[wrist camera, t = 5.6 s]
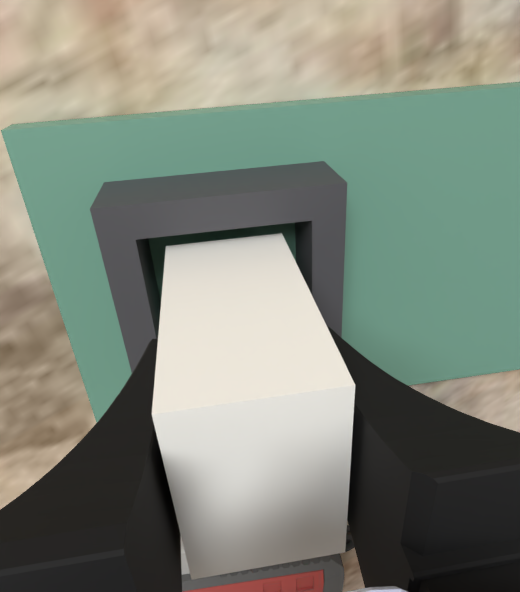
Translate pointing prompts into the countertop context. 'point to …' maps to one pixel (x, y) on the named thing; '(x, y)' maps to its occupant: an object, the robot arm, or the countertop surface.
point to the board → (292, 220)
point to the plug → (250, 408)
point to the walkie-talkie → (275, 576)
